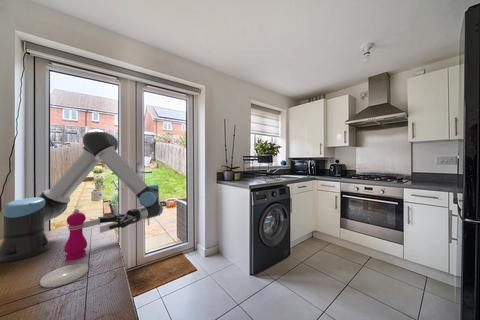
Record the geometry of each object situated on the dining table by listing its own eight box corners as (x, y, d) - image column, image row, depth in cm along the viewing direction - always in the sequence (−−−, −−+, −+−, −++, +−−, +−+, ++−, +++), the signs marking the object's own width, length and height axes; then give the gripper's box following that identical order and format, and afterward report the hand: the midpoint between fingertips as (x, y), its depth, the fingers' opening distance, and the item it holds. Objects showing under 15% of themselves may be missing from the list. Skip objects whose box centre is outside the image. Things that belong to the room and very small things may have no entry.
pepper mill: (67, 263, 71) (68, 212, 71) (61, 258, 75) (62, 210, 75) (89, 255, 77) (90, 208, 78) (83, 251, 81) (83, 206, 81)
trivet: (33, 281, 60) (33, 278, 60) (78, 263, 71) (78, 260, 71) (49, 292, 55) (49, 288, 55) (95, 271, 66) (95, 268, 66)
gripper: (152, 225, 94) (107, 240, 75) (122, 219, 105) (77, 231, 86) (152, 210, 95) (108, 222, 75) (122, 206, 105) (77, 215, 86)
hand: (91, 227), depth 81 cm, fingers open, 13 cm apart
